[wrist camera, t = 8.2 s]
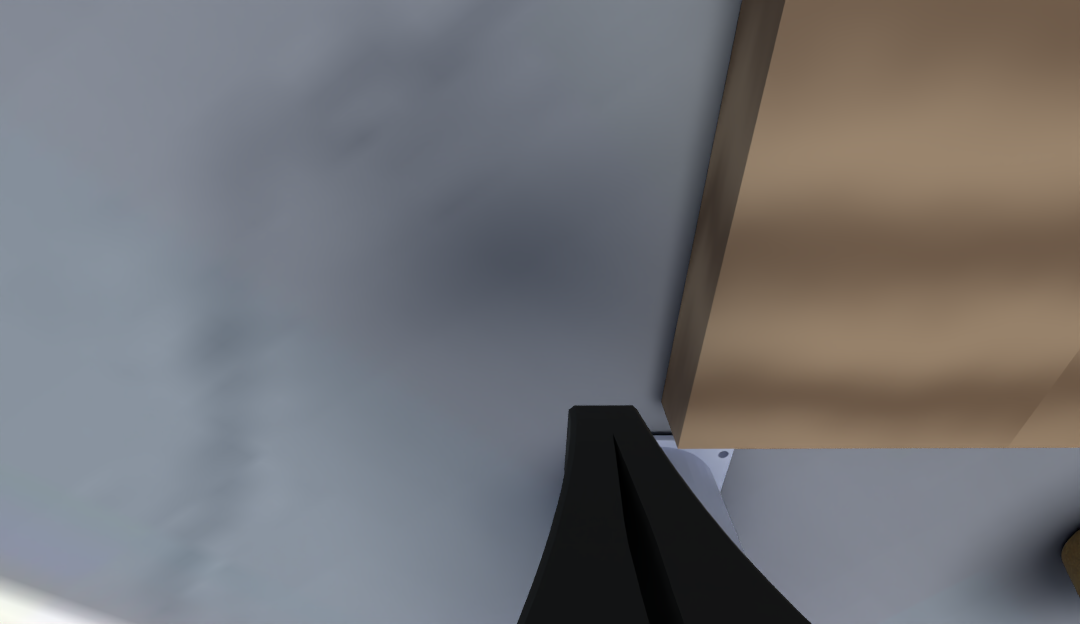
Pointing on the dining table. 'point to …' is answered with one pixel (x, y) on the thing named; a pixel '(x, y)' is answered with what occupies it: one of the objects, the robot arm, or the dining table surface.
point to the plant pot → (1072, 559)
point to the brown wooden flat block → (888, 232)
